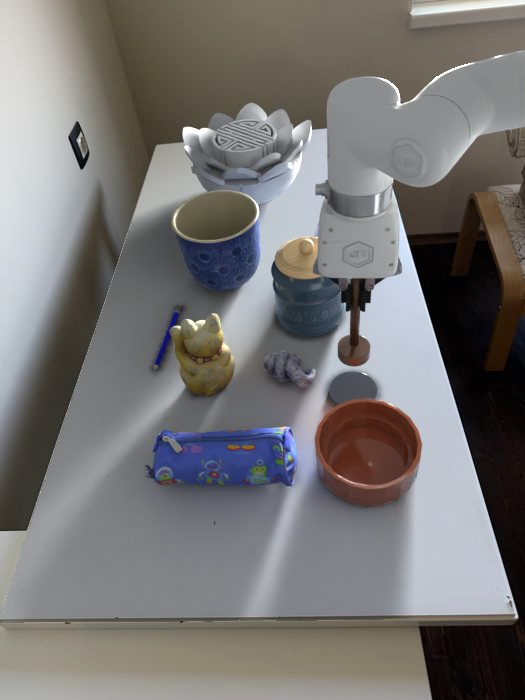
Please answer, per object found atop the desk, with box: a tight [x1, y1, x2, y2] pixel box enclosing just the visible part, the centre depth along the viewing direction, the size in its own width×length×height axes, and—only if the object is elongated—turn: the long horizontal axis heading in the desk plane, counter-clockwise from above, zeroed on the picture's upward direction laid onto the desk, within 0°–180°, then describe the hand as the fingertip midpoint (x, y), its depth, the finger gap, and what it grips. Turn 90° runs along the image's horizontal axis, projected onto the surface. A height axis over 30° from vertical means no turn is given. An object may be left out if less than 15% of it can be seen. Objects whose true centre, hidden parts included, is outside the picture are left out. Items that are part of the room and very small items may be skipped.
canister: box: [270, 236, 345, 338], centre depth 101 cm, size 13×13×18 cm
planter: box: [170, 190, 261, 292], centre depth 112 cm, size 17×17×15 cm
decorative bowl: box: [182, 102, 312, 205], centre depth 132 cm, size 30×30×15 cm
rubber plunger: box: [337, 278, 371, 368], centre depth 81 cm, size 5×5×16 cm
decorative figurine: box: [169, 312, 236, 397], centre depth 93 cm, size 10×8×15 cm
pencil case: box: [144, 426, 298, 487], centre depth 83 cm, size 22×9×10 cm, turn 87°
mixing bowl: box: [314, 399, 423, 507], centre depth 83 cm, size 15×15×6 cm
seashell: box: [261, 351, 316, 388], centre depth 96 cm, size 5×5×10 cm
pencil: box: [153, 304, 182, 371], centre depth 107 cm, size 17×1×1 cm, turn 170°
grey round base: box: [329, 370, 378, 406], centre depth 94 cm, size 8×8×1 cm
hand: (355, 304), depth 79 cm, fingers closed on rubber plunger, 1 cm apart
